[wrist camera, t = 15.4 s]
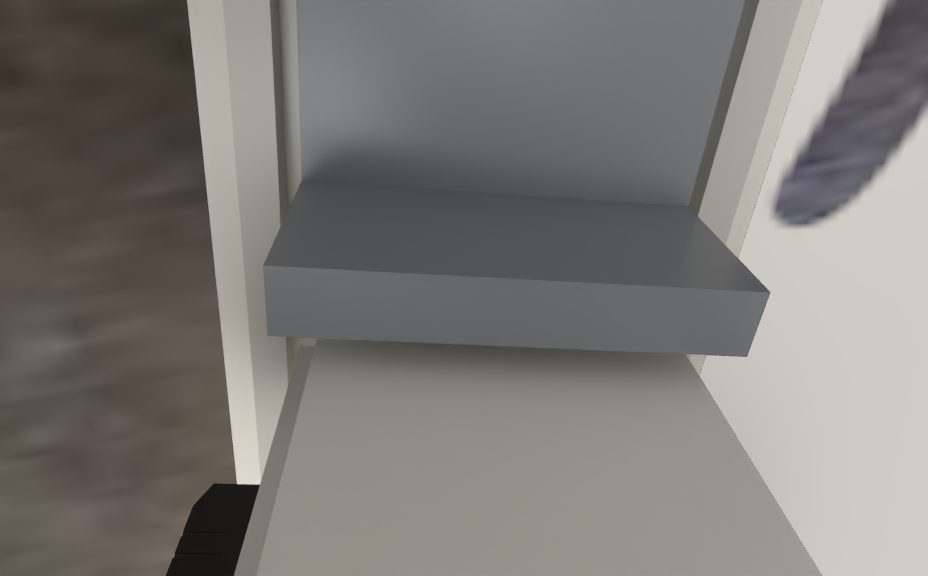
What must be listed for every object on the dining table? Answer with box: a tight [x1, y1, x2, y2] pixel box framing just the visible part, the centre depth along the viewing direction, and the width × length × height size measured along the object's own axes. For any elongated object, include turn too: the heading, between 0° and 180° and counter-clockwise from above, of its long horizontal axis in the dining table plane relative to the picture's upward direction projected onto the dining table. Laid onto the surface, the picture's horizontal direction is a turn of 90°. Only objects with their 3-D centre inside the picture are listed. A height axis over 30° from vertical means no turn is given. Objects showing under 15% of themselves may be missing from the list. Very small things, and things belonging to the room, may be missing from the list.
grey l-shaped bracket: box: [263, 0, 770, 357], centre depth 11 cm, size 7×8×5 cm
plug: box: [256, 338, 822, 576], centre depth 11 cm, size 6×6×12 cm
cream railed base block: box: [187, 0, 823, 485], centre depth 16 cm, size 19×12×5 cm, turn 175°
